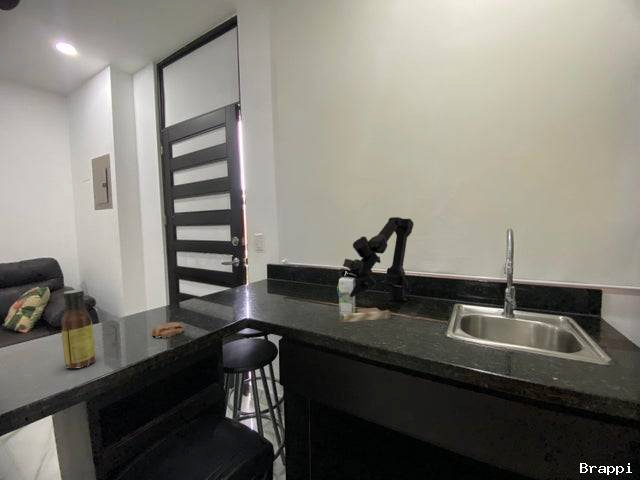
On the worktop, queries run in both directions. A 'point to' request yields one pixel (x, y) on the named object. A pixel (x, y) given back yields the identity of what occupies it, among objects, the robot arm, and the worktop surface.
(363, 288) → the robot arm
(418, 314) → the worktop surface
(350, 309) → the syrup box
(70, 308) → the sauce bottle
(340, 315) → the straightedge
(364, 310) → the end pad
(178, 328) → the cookie
